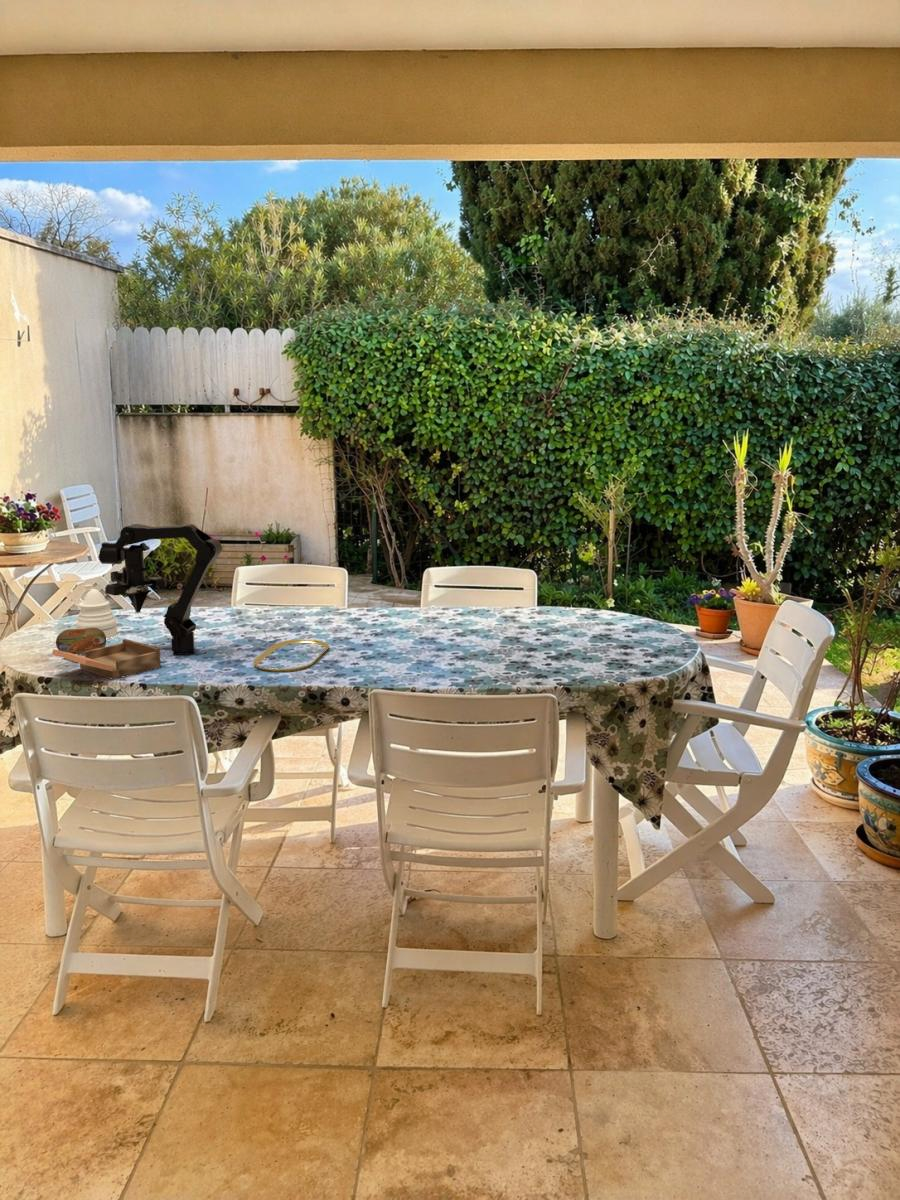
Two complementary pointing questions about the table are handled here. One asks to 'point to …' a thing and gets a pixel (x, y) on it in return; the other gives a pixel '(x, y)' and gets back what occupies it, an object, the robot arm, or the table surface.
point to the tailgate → (82, 660)
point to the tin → (80, 640)
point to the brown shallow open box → (124, 658)
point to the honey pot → (96, 613)
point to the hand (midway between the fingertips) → (137, 612)
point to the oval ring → (283, 645)
